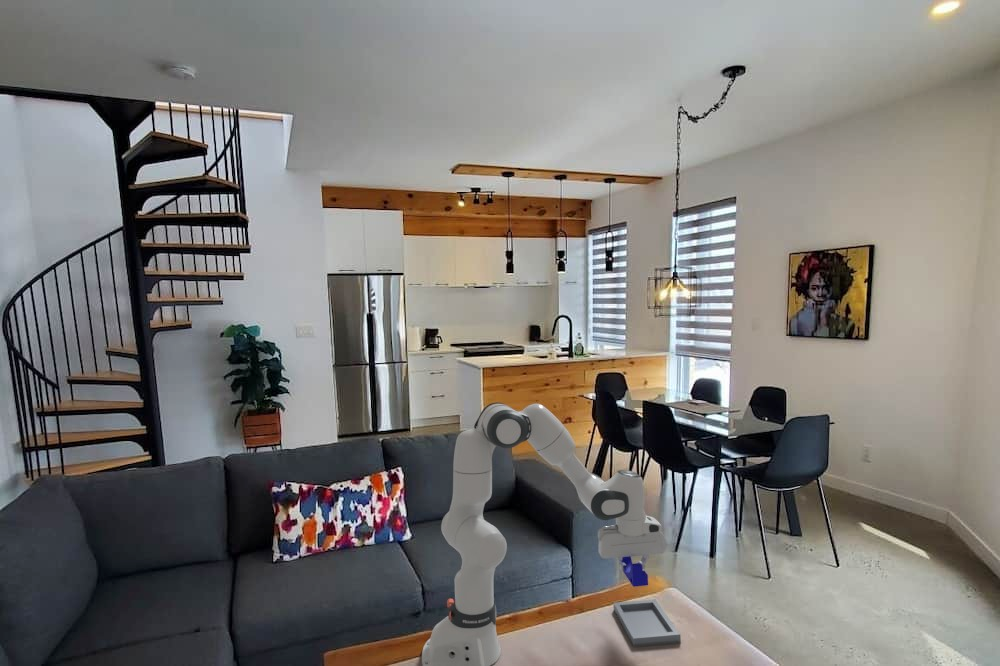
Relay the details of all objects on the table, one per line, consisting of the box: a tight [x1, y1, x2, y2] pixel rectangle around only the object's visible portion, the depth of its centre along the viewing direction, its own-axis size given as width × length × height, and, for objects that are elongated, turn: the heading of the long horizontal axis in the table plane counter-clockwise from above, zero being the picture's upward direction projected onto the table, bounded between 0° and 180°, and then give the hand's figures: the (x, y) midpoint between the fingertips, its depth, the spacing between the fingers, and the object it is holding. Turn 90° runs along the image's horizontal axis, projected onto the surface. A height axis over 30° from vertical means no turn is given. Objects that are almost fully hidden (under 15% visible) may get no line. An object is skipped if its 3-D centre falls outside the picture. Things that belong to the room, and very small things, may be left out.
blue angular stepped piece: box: [618, 556, 649, 588], centre depth 148 cm, size 12×4×6 cm, turn 5°
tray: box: [613, 599, 682, 648], centre depth 149 cm, size 14×18×2 cm
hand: (632, 568), depth 148 cm, fingers closed on blue angular stepped piece, 4 cm apart
